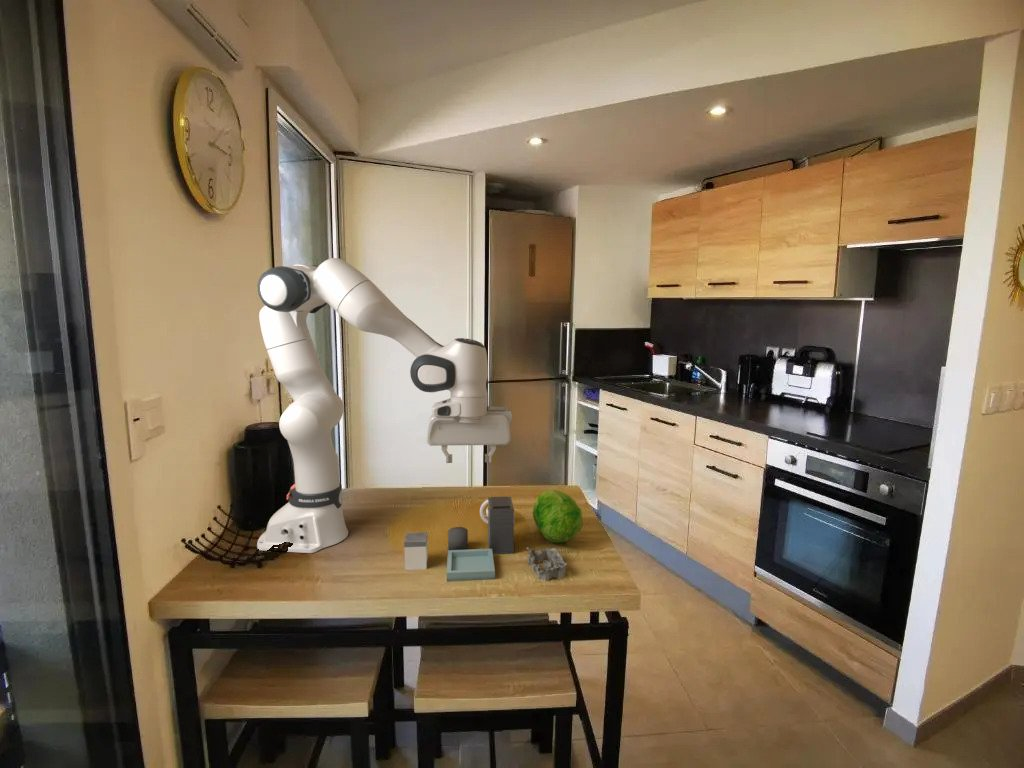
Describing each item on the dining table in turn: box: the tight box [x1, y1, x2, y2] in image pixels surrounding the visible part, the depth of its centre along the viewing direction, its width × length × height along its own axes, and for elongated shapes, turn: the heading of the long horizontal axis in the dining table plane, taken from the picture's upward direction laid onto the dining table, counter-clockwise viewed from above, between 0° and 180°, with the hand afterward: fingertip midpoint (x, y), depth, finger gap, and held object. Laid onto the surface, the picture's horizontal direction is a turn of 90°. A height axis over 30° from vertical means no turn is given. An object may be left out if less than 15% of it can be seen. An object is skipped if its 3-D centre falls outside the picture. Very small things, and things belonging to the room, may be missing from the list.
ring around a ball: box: [479, 499, 488, 525], centre depth 147 cm, size 8×6×8 cm
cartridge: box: [403, 531, 429, 571], centre depth 126 cm, size 5×5×7 cm
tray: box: [446, 548, 496, 582], centre depth 124 cm, size 11×11×2 cm
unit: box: [487, 496, 515, 555], centre depth 135 cm, size 6×8×12 cm
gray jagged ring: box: [526, 547, 568, 582], centre depth 124 cm, size 11×8×4 cm
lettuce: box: [532, 489, 584, 544], centre depth 142 cm, size 13×23×12 cm, turn 5°
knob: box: [447, 526, 469, 551], centre depth 134 cm, size 5×5×5 cm
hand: (468, 462), depth 127 cm, fingers open, 8 cm apart
